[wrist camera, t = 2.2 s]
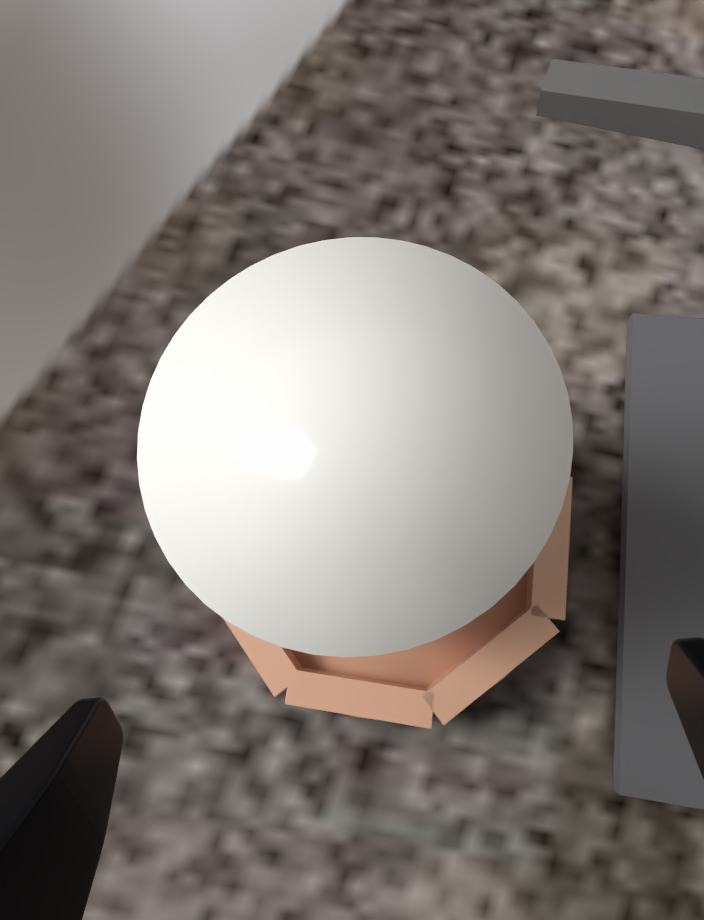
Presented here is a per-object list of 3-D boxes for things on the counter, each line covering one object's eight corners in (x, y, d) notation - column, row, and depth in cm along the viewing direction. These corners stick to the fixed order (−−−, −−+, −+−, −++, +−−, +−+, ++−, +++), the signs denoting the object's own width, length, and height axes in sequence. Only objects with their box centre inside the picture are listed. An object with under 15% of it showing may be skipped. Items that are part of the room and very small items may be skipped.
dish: (548, 742, 19) (565, 759, 17) (190, 682, 20) (164, 690, 18) (567, 391, 21) (584, 366, 19) (253, 362, 23) (237, 336, 21)
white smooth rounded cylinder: (476, 647, 18) (560, 693, 8) (268, 616, 19) (91, 619, 9) (494, 441, 20) (583, 249, 9) (301, 422, 21) (185, 226, 10)
